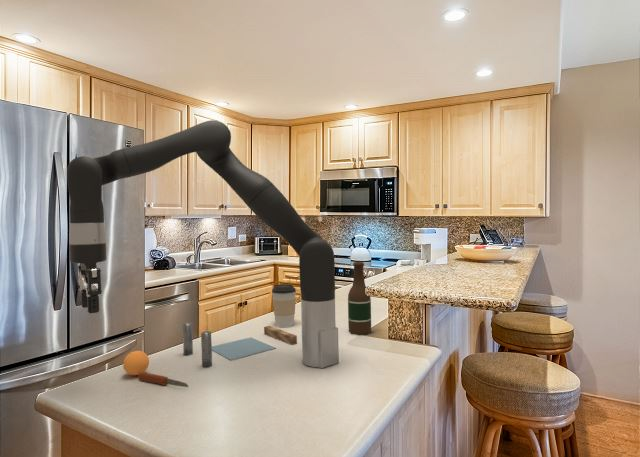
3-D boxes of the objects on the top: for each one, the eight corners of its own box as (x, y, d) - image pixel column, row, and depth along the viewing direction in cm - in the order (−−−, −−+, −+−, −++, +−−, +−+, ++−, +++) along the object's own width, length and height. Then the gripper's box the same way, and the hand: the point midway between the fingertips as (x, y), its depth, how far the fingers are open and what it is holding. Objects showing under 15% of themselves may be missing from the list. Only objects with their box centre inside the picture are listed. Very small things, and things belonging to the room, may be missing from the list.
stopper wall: (296, 343, 123) (296, 335, 123) (291, 344, 122) (291, 336, 122) (269, 333, 136) (269, 325, 136) (264, 334, 134) (264, 326, 134)
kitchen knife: (137, 381, 97) (137, 373, 97) (142, 379, 98) (142, 371, 98) (186, 391, 90) (186, 383, 90) (190, 389, 91) (190, 380, 91)
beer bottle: (370, 335, 130) (369, 263, 129) (347, 335, 131) (345, 263, 131) (372, 329, 137) (370, 260, 137) (350, 328, 139) (348, 260, 138)
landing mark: (276, 348, 119) (276, 347, 119) (230, 360, 109) (230, 359, 109) (250, 337, 130) (250, 337, 130) (207, 348, 121) (207, 347, 121)
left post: (194, 353, 116) (193, 323, 116) (185, 355, 114) (184, 325, 114) (190, 351, 118) (190, 321, 118) (182, 353, 116) (181, 323, 116)
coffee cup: (298, 321, 150) (297, 282, 150) (294, 328, 141) (293, 286, 141) (275, 321, 151) (274, 282, 150) (270, 328, 142) (269, 286, 141)
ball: (152, 374, 100) (151, 351, 100) (127, 381, 96) (126, 357, 96) (145, 368, 105) (144, 346, 105) (120, 374, 101) (120, 351, 101)
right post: (213, 365, 106) (212, 332, 105) (204, 368, 104) (203, 334, 104) (209, 363, 108) (208, 330, 107) (200, 365, 106) (199, 332, 106)
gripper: (112, 242, 91) (114, 312, 91) (99, 240, 102) (101, 303, 102) (74, 243, 86) (76, 317, 86) (65, 242, 97) (67, 307, 97)
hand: (90, 309), depth 94 cm, fingers open, 8 cm apart
